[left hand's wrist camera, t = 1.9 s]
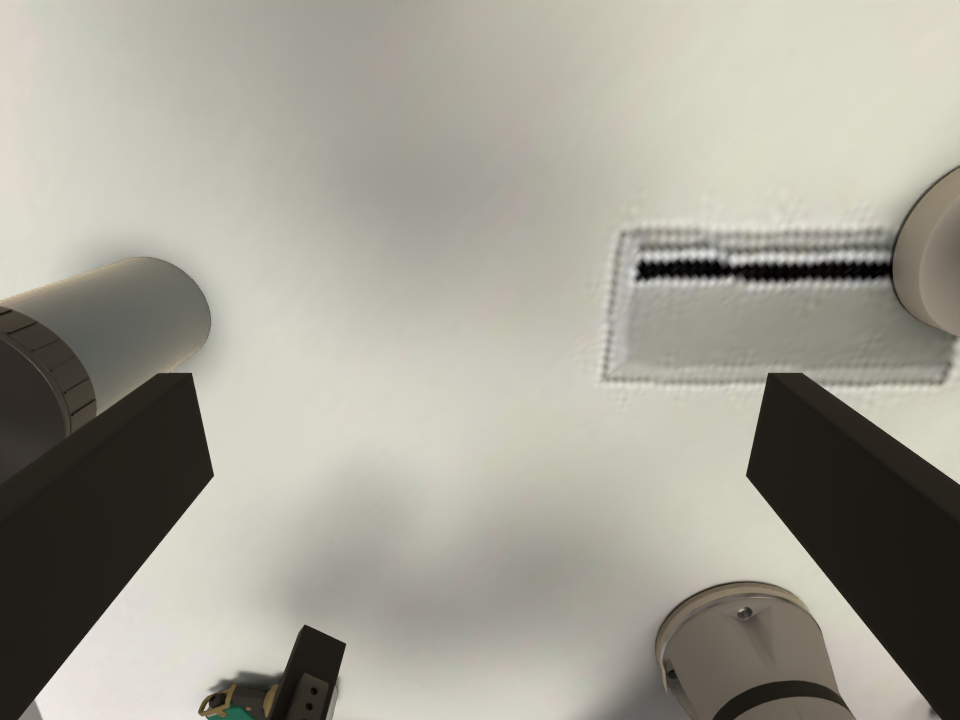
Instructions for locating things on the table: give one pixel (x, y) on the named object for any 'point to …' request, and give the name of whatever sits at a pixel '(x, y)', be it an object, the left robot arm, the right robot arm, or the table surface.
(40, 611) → the left robot arm
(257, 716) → the spray gun
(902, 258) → the bust sculpture
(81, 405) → the lid
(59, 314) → the jar
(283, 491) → the table surface
